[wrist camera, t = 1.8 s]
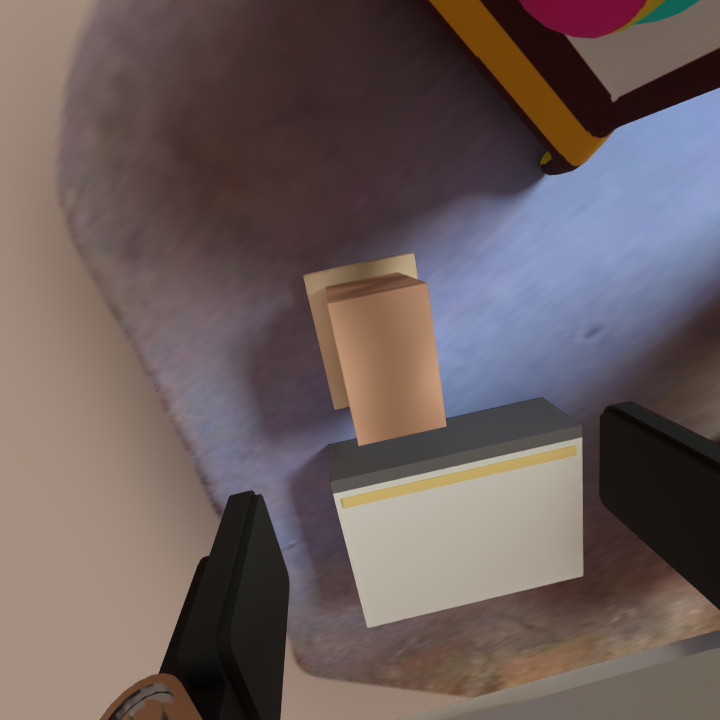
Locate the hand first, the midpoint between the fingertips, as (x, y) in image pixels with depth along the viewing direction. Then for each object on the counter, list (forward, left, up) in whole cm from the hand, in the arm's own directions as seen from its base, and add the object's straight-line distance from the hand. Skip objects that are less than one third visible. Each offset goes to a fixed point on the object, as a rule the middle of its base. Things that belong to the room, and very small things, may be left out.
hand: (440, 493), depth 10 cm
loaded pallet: (0, 0, -19) cm, 19 cm away
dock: (-4, +16, -19) cm, 25 cm away
